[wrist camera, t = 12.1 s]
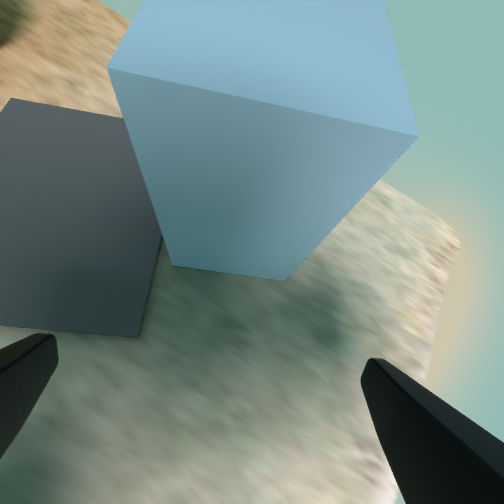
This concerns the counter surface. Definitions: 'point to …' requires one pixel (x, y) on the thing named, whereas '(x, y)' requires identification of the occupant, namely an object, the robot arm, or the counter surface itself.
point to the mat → (73, 222)
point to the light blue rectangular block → (259, 123)
